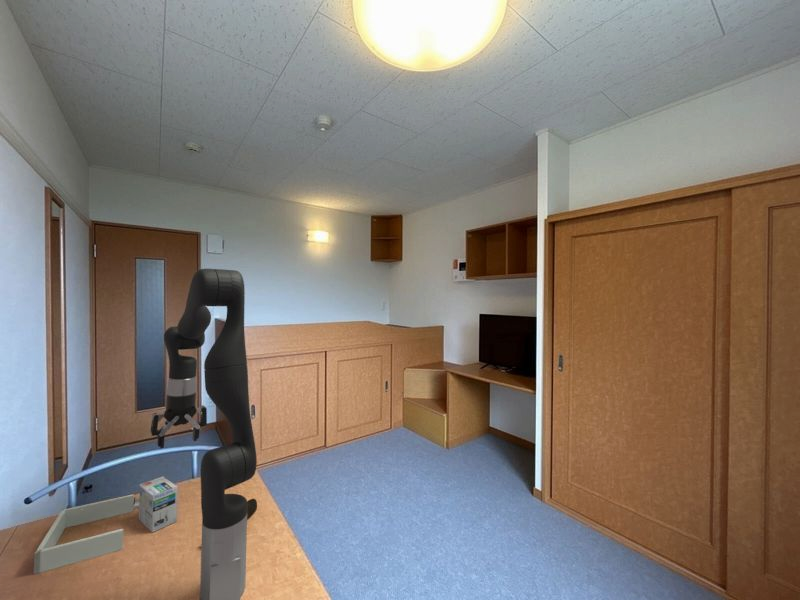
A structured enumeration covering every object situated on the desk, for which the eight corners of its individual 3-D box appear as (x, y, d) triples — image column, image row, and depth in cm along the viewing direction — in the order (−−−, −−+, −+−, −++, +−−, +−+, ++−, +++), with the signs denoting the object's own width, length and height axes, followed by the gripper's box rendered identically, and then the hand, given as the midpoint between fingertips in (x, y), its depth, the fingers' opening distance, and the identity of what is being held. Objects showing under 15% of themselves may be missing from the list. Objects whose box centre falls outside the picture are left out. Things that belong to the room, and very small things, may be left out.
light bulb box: (177, 521, 102) (179, 485, 102) (151, 533, 96) (153, 495, 96) (162, 509, 108) (163, 475, 108) (137, 519, 102) (138, 484, 102)
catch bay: (121, 549, 90) (122, 530, 90) (33, 574, 81) (34, 553, 81) (133, 510, 107) (133, 494, 107) (61, 527, 98) (62, 509, 98)
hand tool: (211, 552, 90) (211, 534, 90) (200, 548, 91) (201, 530, 91) (263, 512, 107) (263, 497, 107) (253, 509, 109) (254, 495, 109)
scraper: (141, 507, 108) (141, 501, 108) (82, 521, 101) (83, 515, 101) (143, 498, 113) (143, 492, 113) (88, 510, 106) (88, 504, 106)
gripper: (155, 398, 95) (151, 455, 95) (211, 391, 105) (207, 442, 105) (151, 391, 100) (148, 445, 101) (204, 385, 110) (201, 433, 111)
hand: (178, 443), depth 103 cm, fingers open, 8 cm apart
